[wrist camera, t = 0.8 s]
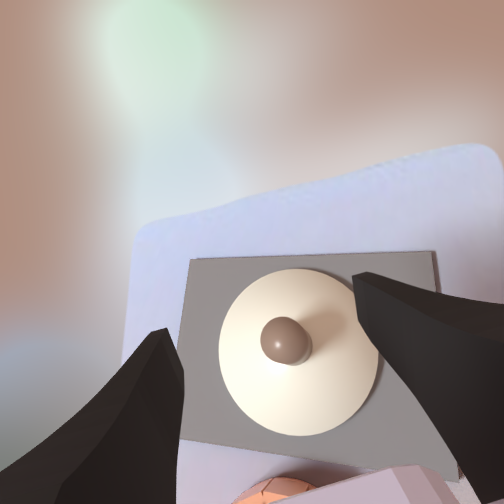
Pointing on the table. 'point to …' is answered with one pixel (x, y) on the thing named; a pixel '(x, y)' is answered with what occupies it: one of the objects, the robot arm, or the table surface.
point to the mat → (323, 444)
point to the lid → (296, 353)
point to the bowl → (273, 490)
